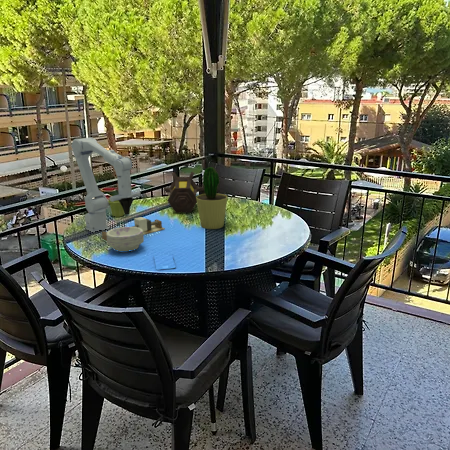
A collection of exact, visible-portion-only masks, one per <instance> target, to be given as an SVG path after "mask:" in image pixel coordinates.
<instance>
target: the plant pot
mask: <svg viewBox="0 0 450 450" xmlns="http://www.w3.org/2000/svg"><path fill="white" fill-rule="evenodd" d="M107 200H108V199H107ZM108 206H110V207H109V208H110V212H111V214H112V217H114V216H115V217H114V218H121V217H124V216H125V213H124V210H123V208H122V206H121V204H120V202H119V201H118V200H116V201H113V202H112V201H110V199H109V200H108ZM123 215H124V216H123Z"/></svg>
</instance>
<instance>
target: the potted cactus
mask: <svg viewBox="0 0 450 450" xmlns="http://www.w3.org/2000/svg"><path fill="white" fill-rule="evenodd" d="M201 176H202V179H203V180H202V183H201V184H202V187H203V191H204V193H202V194H198V195H196V200H197V203H196V205H197V209H198V215H199V223H200V226H201V228H203V229H207V230H217V229H221V228H223V227H224V224H225V217H226V211H227V210H226V209H227V202H228V195H227V194H222V193H218V192H219V191H218V190H219V185H220V183H221V180H220V174H219V172H218V171H217V170H216V168H215V167H214V166H212V167H211V166H210V167H206V168H204V169H203V171H202V175H201Z"/></svg>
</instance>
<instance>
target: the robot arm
mask: <svg viewBox="0 0 450 450" xmlns="http://www.w3.org/2000/svg"><path fill="white" fill-rule="evenodd" d="M70 148H71V149H72V153H73V156H74V158H75V160H76V163H77V167H78V171H79V172H80V175H81V179H82V181H83V184H84V186H85V190H86V196H85V197H84V203H85V209H86V211H87V213H85V215H84V220H85V230H87V231H88V230H89V232H90V231H91V233H92V232H93V233H96V232H95V231H98V232H100V231H99V230H102V231H106V230H105V229H107V230H110V229H111V227H110V226H108V224H107V223H108V222H107V214H106V211H107V208H108V207H109V202H108V198H107V197H106V195H105V193H104V192H102V191H101V190H100V189H99V187H98V185H97V181H96V178H95V175H94V173H93V169H92V166H91V163H90V160H89V158H90V157H91V156H92V154H93V153H96V154H97V155H98V156H101V157H103V160H104V161H105V162H106V163H108V164H109V165H111V166H112V167H113V169H114V172H115V175H116V177H117V188H118V189H117V190H118V194H115V195H111V196H109V200H110V201H112V202H113V201H116V200H118V201H119V202H120V204H121V206H122V208H123V210H124V215H130V212H131V207H132V204H133V203H134V198H137V197H142V195H141V191H133V192H132V179H131V178H132V177H131V170H132V168H133V161H132V159H130V158H129V157H128V156H125V157H124V156H123V155H121V154H119V153H117V152H116V151H115V150H114V149H109V150H108V149H106V148H105V147H104V146H102V144H100V143H99V142H98V141H97V139H95V138H94V137H91V136H90V137H83V138H75V139H73V140H72V141H71V145H70ZM109 228H110V229H109Z"/></svg>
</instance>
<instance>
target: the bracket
mask: <svg viewBox="0 0 450 450" xmlns="http://www.w3.org/2000/svg"><path fill="white" fill-rule="evenodd" d="M146 219H147V230H151V229H152V227H151V222H152V220H151V219H148V218H146Z"/></svg>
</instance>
